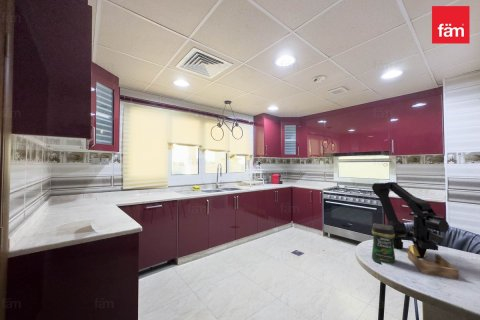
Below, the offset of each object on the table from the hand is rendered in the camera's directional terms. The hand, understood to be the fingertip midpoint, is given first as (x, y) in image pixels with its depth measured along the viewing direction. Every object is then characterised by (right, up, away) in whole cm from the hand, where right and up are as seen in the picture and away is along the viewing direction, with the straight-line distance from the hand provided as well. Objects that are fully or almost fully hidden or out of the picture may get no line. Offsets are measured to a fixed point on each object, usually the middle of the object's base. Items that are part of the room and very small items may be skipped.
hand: (421, 257), depth 101 cm
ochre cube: (+1, -1, +3) cm, 3 cm away
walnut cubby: (-4, -2, -8) cm, 9 cm away
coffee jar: (-20, -2, 0) cm, 20 cm away
